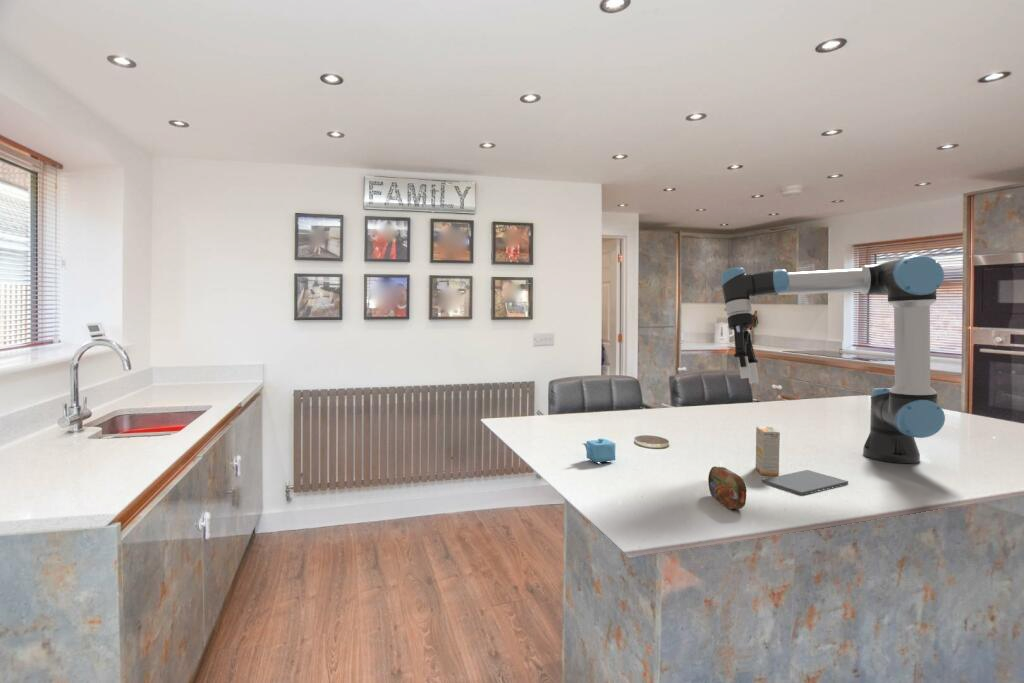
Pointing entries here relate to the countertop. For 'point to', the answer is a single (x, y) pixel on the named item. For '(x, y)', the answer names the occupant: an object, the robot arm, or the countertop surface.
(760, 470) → the supplement box
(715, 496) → the multicoloured flat oval slab
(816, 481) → the mat
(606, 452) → the teapot
